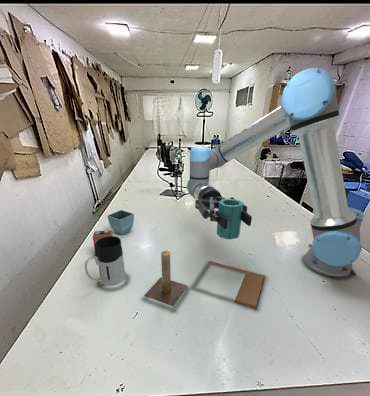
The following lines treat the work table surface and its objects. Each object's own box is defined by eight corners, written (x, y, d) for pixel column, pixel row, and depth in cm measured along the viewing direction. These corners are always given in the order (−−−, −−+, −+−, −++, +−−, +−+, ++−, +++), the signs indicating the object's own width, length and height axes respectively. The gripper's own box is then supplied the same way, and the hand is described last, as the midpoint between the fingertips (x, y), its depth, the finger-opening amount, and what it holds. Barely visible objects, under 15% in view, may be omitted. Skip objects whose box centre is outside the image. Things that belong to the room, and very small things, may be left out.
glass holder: (132, 277, 81) (128, 238, 74) (102, 304, 69) (95, 261, 63) (112, 270, 84) (107, 233, 78) (81, 295, 72) (71, 253, 66)
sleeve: (241, 231, 72) (244, 200, 68) (235, 241, 66) (239, 207, 62) (220, 227, 74) (223, 197, 70) (214, 236, 69) (216, 204, 65)
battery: (113, 255, 93) (110, 232, 89) (95, 256, 92) (91, 234, 88) (114, 249, 97) (111, 227, 93) (97, 250, 96) (93, 229, 92)
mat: (264, 277, 81) (264, 275, 81) (255, 308, 68) (256, 306, 68) (209, 263, 89) (209, 260, 89) (192, 288, 76) (192, 286, 75)
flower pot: (122, 238, 106) (120, 220, 103) (108, 233, 111) (106, 215, 107) (135, 230, 113) (134, 213, 109) (122, 226, 117) (121, 209, 114)
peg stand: (188, 289, 75) (188, 248, 69) (173, 310, 67) (172, 266, 61) (161, 280, 79) (159, 241, 73) (144, 299, 71) (140, 257, 65)
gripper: (231, 204, 88) (267, 231, 67) (181, 208, 83) (203, 239, 62) (233, 184, 84) (271, 206, 64) (181, 188, 80) (204, 213, 59)
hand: (238, 222), depth 63 cm, fingers closed on sleeve, 6 cm apart
